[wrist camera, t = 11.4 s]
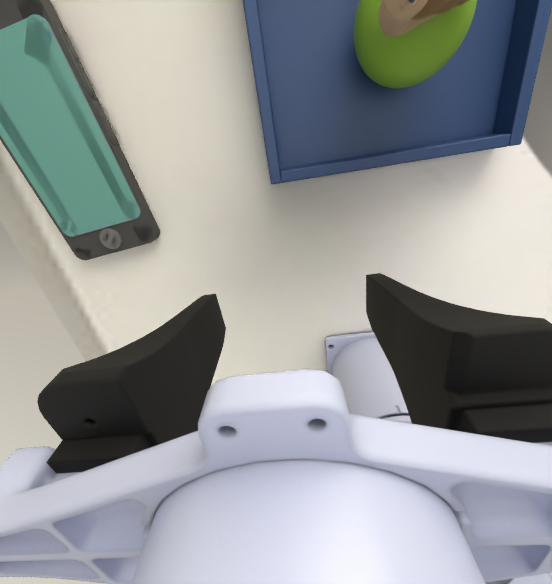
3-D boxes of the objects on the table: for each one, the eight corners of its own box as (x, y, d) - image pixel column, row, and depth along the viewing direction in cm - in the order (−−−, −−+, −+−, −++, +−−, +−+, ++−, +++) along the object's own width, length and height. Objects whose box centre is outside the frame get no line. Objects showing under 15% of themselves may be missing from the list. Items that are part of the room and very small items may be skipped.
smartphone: (77, 262, 23) (-76, 27, 16) (87, 257, 24) (-53, 34, 17) (159, 240, 22) (32, -22, 15) (165, 235, 23) (49, -11, 16)
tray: (554, -166, 13) (603, -222, 11) (496, 144, 19) (521, 144, 17) (233, -82, 15) (224, -117, 13) (272, 180, 21) (271, 184, 19)
